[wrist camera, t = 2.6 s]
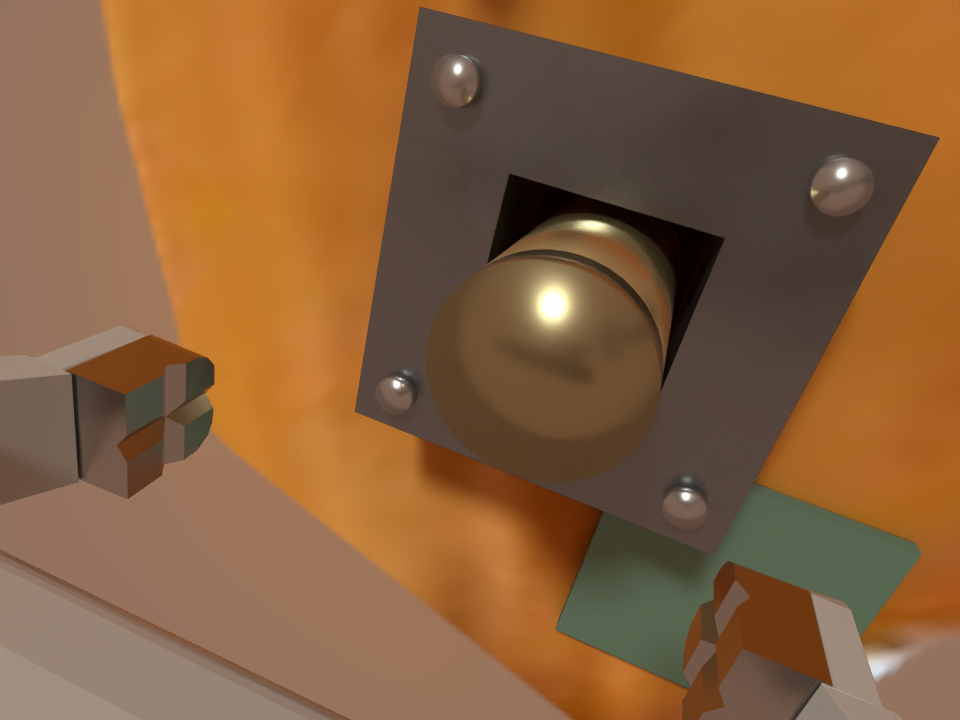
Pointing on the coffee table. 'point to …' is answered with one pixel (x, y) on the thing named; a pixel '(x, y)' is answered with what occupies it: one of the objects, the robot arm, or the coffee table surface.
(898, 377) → the coffee table surface
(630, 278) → the plug
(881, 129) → the housing
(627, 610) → the coaster
